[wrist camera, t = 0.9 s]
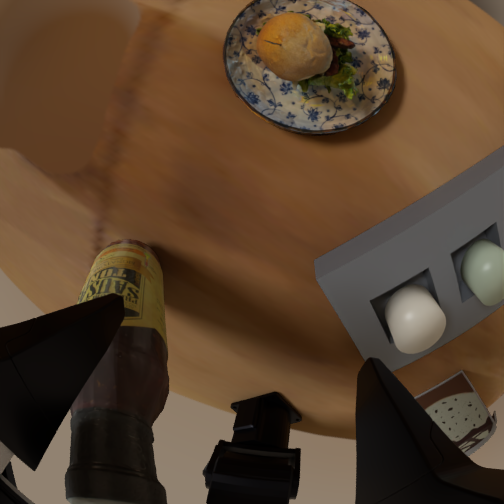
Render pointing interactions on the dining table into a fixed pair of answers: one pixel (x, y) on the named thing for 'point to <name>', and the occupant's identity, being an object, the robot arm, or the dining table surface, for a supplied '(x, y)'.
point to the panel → (417, 261)
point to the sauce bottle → (122, 386)
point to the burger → (309, 64)
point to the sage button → (484, 271)
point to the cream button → (414, 319)
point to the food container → (459, 412)
